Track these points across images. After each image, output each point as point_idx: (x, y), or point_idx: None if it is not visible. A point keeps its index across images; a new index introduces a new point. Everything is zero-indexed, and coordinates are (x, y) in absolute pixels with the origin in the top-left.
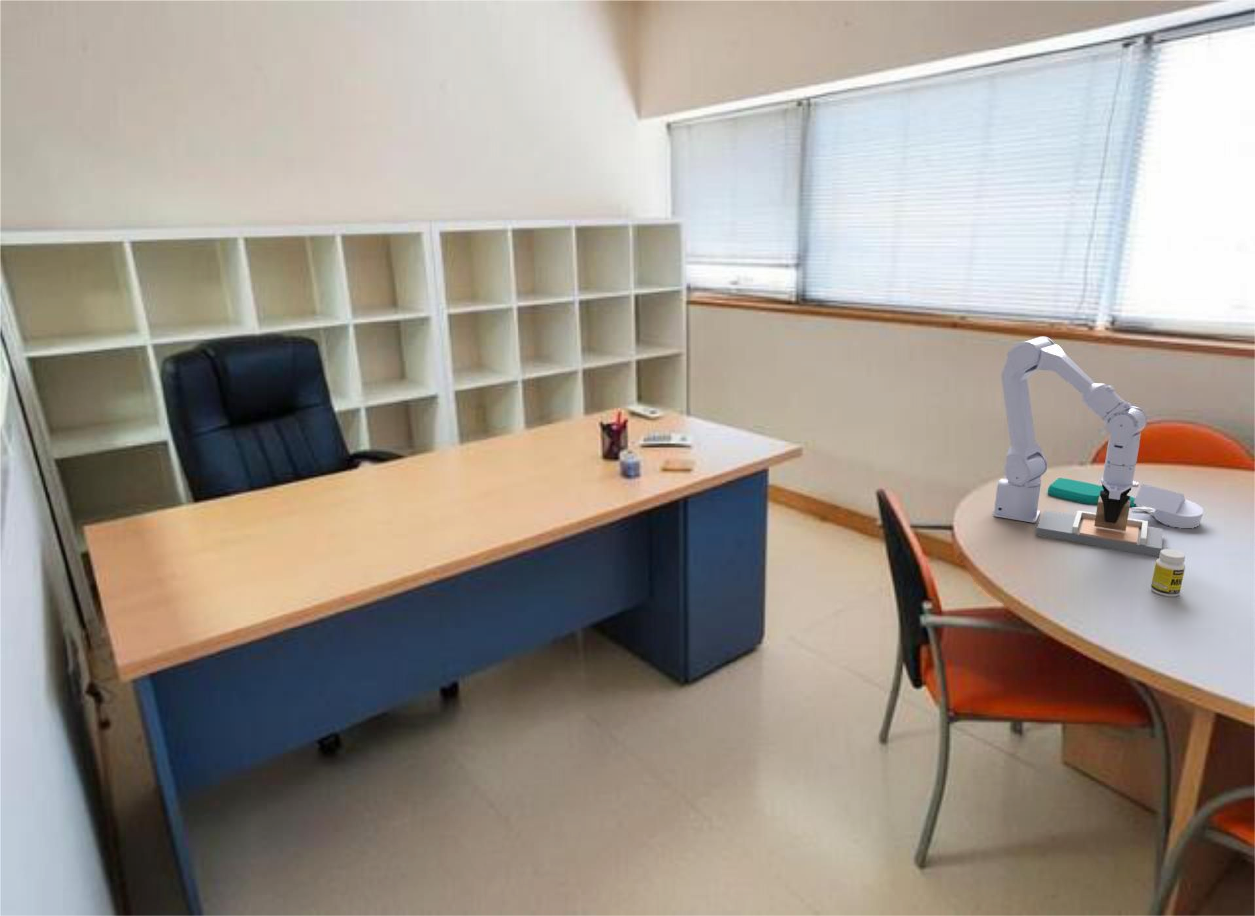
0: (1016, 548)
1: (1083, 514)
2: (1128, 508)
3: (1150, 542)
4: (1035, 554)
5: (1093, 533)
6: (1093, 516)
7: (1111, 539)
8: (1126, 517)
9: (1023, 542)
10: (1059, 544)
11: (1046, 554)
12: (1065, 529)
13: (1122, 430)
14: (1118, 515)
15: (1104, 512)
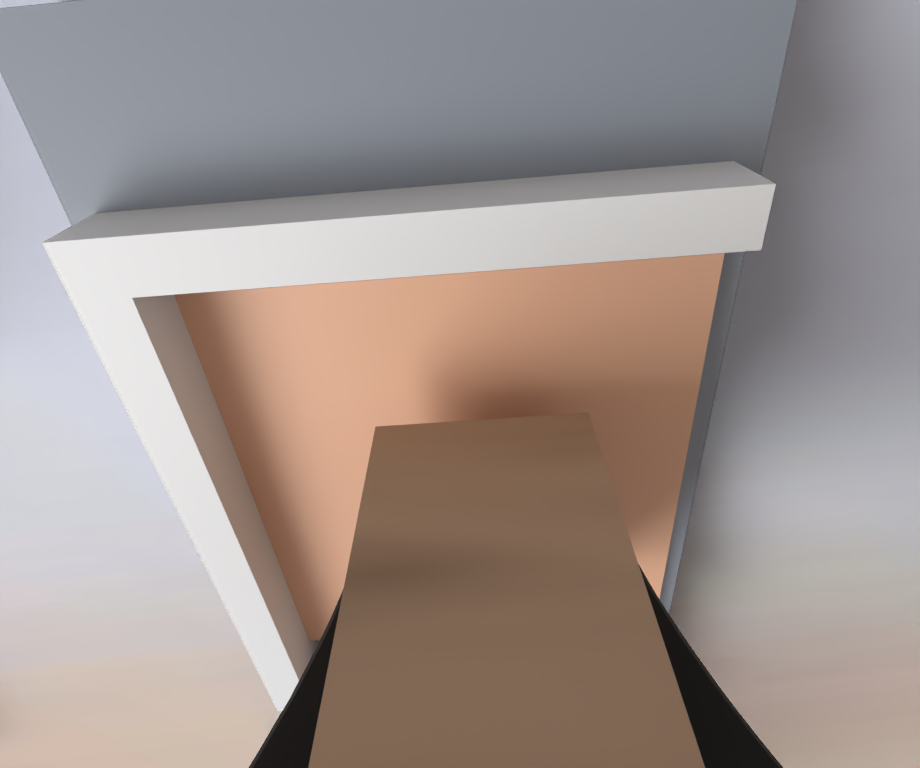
0: (848, 719)
1: (303, 667)
2: (692, 733)
3: (619, 111)
4: (915, 665)
5: None
6: (285, 620)
7: (685, 448)
8: (630, 567)
9: (753, 713)
10: (720, 615)
11: (904, 635)
12: None
13: None
14: (700, 663)
15: None
